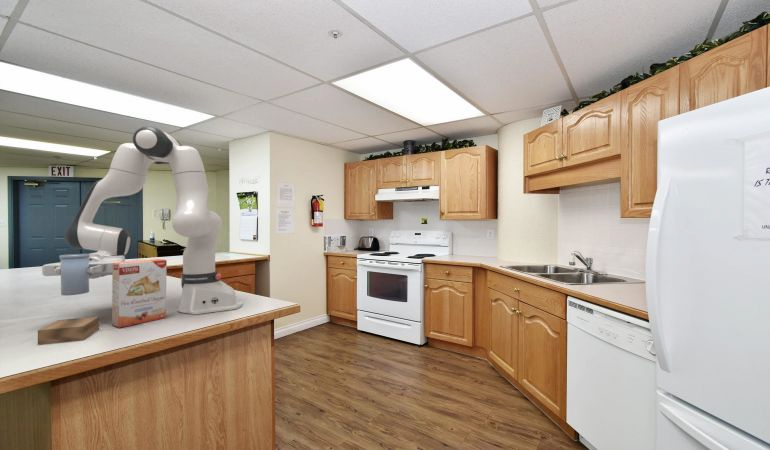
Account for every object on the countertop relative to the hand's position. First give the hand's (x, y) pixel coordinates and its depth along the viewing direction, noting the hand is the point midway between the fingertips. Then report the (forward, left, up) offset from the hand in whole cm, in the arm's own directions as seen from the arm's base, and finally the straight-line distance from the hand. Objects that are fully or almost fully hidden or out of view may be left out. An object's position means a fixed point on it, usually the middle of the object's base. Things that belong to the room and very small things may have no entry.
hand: (73, 271), depth 101 cm
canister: (0, -1, -7) cm, 7 cm away
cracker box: (-16, -4, -19) cm, 25 cm away
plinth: (-1, +6, -19) cm, 20 cm away
